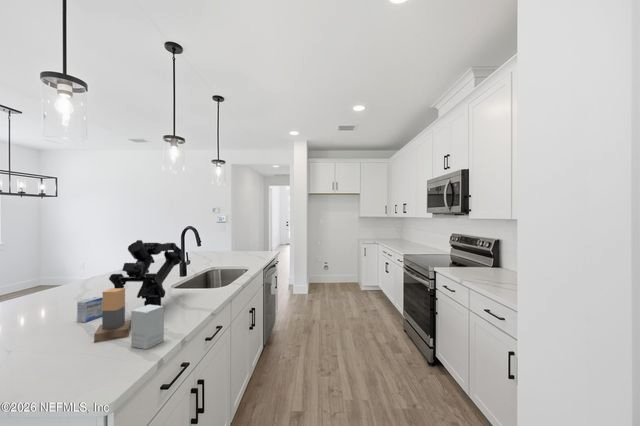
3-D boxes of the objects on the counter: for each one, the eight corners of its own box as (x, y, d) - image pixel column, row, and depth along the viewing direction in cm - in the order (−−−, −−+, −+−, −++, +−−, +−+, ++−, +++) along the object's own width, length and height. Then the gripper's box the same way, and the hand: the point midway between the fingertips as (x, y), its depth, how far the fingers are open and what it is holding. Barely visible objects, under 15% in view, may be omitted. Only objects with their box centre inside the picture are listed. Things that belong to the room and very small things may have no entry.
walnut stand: (131, 327, 114) (131, 320, 114) (127, 336, 105) (127, 328, 105) (100, 332, 109) (100, 324, 109) (94, 342, 100) (94, 334, 100)
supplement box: (164, 340, 102) (164, 305, 102) (145, 349, 95) (146, 312, 95) (149, 337, 104) (149, 303, 104) (130, 346, 97) (130, 310, 97)
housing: (111, 324, 109) (111, 288, 109) (124, 324, 109) (125, 288, 110) (102, 329, 104) (102, 291, 104) (116, 329, 104) (116, 291, 105)
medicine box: (85, 322, 119) (85, 302, 119) (76, 322, 120) (77, 301, 120) (103, 316, 127) (103, 297, 127) (94, 315, 127) (95, 296, 128)
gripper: (111, 255, 119) (91, 287, 108) (156, 254, 120) (141, 287, 109) (123, 269, 127) (106, 301, 116) (165, 269, 128) (152, 301, 117)
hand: (126, 297), depth 114 cm, fingers open, 9 cm apart
